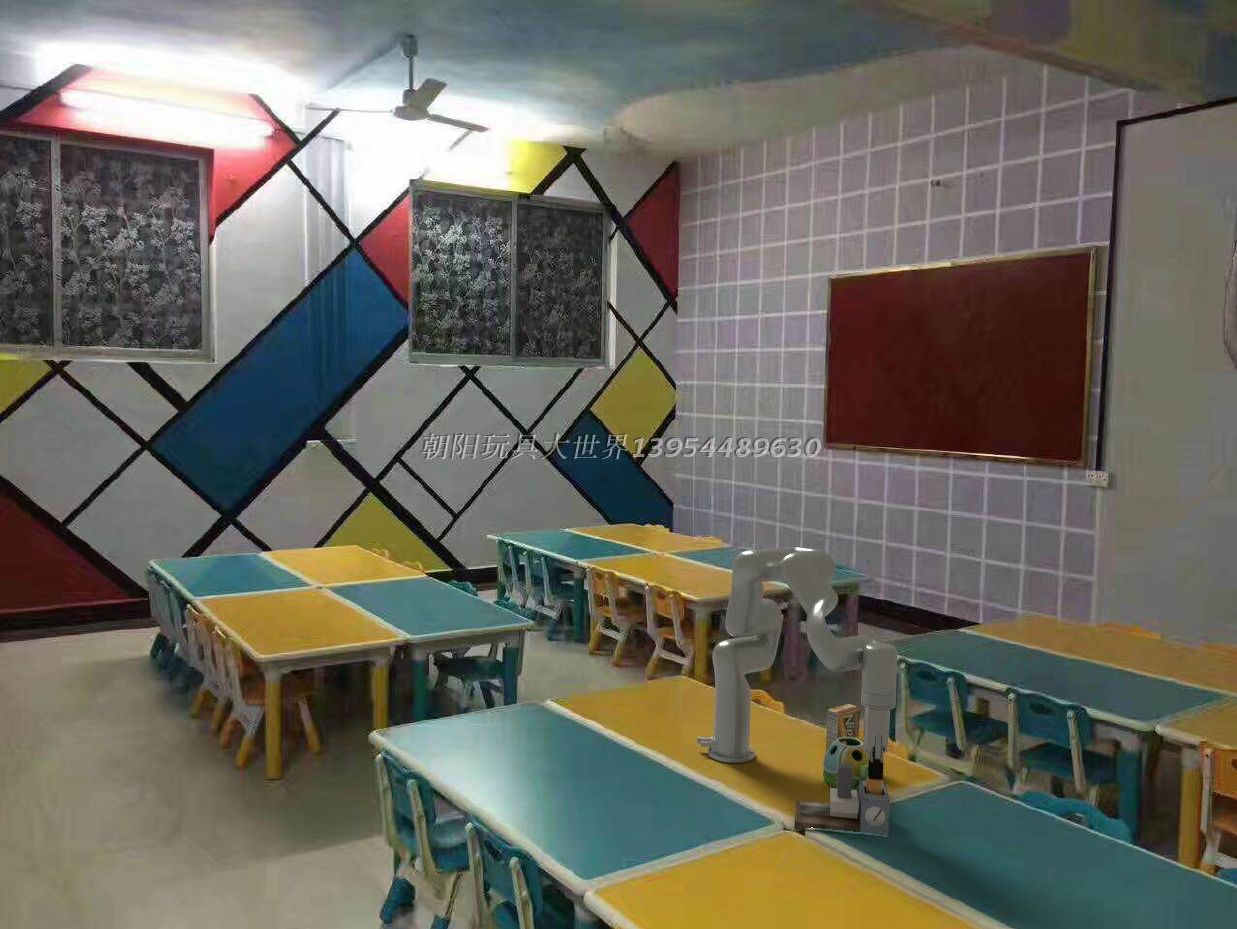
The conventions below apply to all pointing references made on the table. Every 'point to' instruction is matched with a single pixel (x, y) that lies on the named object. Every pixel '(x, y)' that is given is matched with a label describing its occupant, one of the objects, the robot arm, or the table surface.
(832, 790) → the carriage
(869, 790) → the button
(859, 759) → the turtle holder
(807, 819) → the rail board
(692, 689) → the table surface
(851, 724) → the candy box
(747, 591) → the robot arm
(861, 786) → the gauge cabinet
